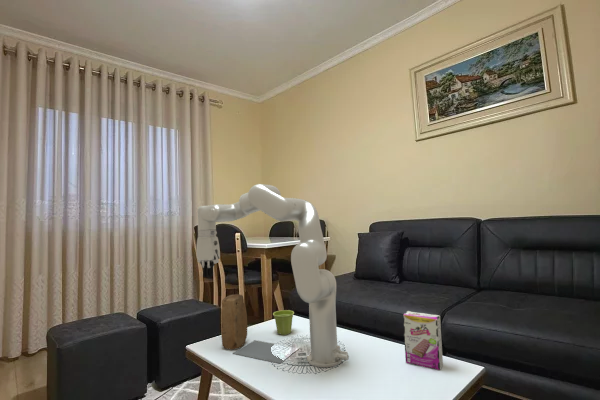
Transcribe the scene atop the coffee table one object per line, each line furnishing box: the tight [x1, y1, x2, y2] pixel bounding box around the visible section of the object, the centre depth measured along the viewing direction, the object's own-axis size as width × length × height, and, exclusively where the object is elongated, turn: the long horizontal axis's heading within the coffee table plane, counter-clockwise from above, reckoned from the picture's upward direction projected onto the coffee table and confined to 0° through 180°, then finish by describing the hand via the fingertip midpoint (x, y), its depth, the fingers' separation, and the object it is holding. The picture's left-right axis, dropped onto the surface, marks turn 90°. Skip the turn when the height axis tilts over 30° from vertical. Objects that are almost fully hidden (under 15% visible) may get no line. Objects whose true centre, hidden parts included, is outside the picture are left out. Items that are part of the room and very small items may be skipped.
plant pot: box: [272, 309, 295, 336], centre depth 144 cm, size 9×9×9 cm
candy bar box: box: [402, 310, 444, 371], centre depth 109 cm, size 11×5×16 cm, turn 56°
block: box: [220, 294, 248, 350], centre depth 133 cm, size 11×8×20 cm
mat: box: [232, 339, 284, 365], centre depth 125 cm, size 22×14×1 cm, turn 61°
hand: (208, 276), depth 140 cm, fingers closed
